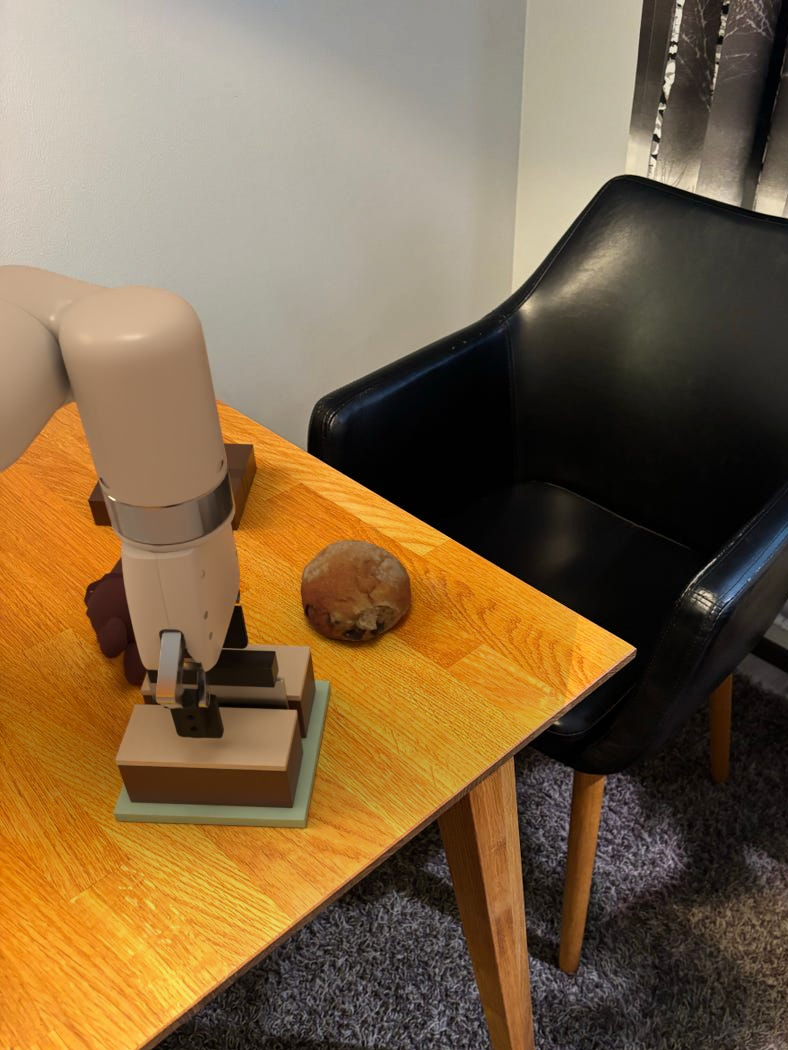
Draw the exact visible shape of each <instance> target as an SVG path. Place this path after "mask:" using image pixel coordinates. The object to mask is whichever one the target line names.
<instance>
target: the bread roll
mask: <svg viewBox="0 0 788 1050" xmlns="http://www.w3.org/2000/svg"><path fill="white" fill-rule="evenodd" d="M300 581H301V582H300V598H301V607H302V609H303V614H304V617H305V620H306V622H307V623H308V624H309V625H310V626H311V627H312V628H313V629H314V630H315V631H316V632H318V633H319V634H321V635H322V636H324V637H326V638H329V639H333V640H340V641H341V640H343V641H349V642H359V641H362V642H365V641H369V640H370V639H372V638H375V637H378V636H379V635H381V634H383V633H385V632H387V631H388V630H390V629H391V628H394V626H395V625H396V624H397V623H398V622H399V620H401V618H402V617H403V616H405V615H406V613H407V612H408V610H409V608H410V606H411V602H412V589H411V578H410V574H409V573H408V570H407V568H406V567H405V566H404V564H403V563H402V562H401V561H400V560H399V559H398V558H397V557H396V556H395V555H394V554H392V553H391V552H389V550H387V549H386V548H383V547H381V546H379V545H376V544H374V543H371V542H369V541H364V540H357V539H343V540H337V541H335V542H332V543H329V544H328V545H326V547H324V548H323V549H321V550H320V551H318V552H317V553H316V555H315V556H314V557H313V558H312V559H311V560H309V562H307V564H306V565H305V566H304V568H303V571H302V574H301V578H300Z"/></svg>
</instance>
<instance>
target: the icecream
mask: <svg viewBox="0 0 788 1050" xmlns="http://www.w3.org/2000/svg"><path fill="white" fill-rule="evenodd" d="M83 603H84V605H85V607H86V608H87V609H86V611H85V615H86V617H87V618H88V619H89V622H90V625H91V628H92V629H93V631H94V634H96V640H97V644H99V650H100V652H101V654H102V656H104V657H105V658H107V659H110V660H112V659H117V658H119V657H120V656H121V655H122V654H123V658H122V659H123V660H122V661H123V662H122V667H123V673H124V674H123V675H124V677H125V680H126V682H127V684H128V685H130V686H133V687H134V686H138V685H139V684H140V683H141V682H142V681H144V679H145V676H146V672H147V670H146V668H145V667H144V665H143V663H142V661H141V658H140V654H139V650H138V647H137V643H136V639H135V634H134V630H133V626H132V621H131V617H130V612H129V607H128V602H127V597H126V591H125V585H124V577H123V569H122V556H121V555H120V558H119V559H118V560H117V562H116V563H115V565H114V566H113V567H112V569H111V570H110V571H109V572H108V573H104V574H103V576H101V578H100V579H97V580H95V581H93V582H91V583H89V585H87V587H86V590H85V596H84V597H83Z"/></svg>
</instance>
